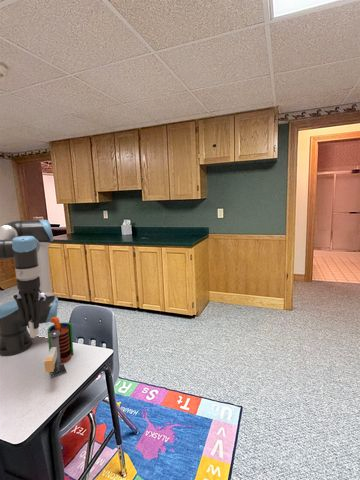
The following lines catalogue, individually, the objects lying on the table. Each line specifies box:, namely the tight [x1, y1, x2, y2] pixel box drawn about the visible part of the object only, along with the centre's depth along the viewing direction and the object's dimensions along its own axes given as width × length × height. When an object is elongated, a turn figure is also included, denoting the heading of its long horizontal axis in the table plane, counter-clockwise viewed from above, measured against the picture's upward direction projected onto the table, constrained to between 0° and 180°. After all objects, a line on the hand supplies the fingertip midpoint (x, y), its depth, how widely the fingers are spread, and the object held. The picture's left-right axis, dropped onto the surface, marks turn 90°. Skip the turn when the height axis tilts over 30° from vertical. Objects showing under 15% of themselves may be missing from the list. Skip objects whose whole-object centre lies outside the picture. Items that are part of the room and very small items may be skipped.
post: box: [47, 330, 68, 379], centre depth 111 cm, size 6×6×18 cm
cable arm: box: [44, 347, 57, 374], centre depth 104 cm, size 3×10×5 cm, turn 15°
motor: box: [47, 316, 74, 365], centre depth 120 cm, size 10×9×20 cm
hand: (34, 335), depth 102 cm, fingers closed
